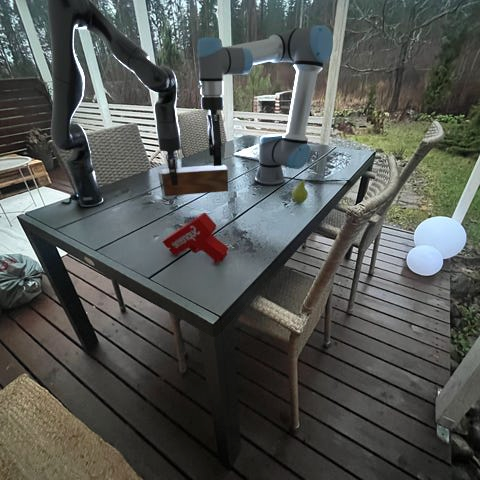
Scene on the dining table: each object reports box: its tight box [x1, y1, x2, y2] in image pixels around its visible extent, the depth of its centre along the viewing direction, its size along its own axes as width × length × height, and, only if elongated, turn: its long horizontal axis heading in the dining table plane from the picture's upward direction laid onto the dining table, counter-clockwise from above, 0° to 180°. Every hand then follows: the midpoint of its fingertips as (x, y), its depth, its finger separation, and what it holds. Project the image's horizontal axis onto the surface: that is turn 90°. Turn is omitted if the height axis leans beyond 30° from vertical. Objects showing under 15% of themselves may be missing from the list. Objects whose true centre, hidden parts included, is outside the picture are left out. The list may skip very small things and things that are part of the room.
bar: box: [161, 164, 229, 196], centre depth 103 cm, size 24×6×9 cm, turn 102°
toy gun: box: [162, 212, 230, 264], centre depth 85 cm, size 18×4×15 cm
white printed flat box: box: [233, 143, 260, 161], centre depth 184 cm, size 27×35×5 cm
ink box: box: [157, 171, 180, 200], centre depth 125 cm, size 8×5×12 cm, turn 135°
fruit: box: [291, 174, 311, 204], centre depth 118 cm, size 7×8×12 cm
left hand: (175, 181), depth 102 cm, fingers closed on bar, 6 cm apart
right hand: (215, 160), depth 101 cm, fingers open, 13 cm apart
